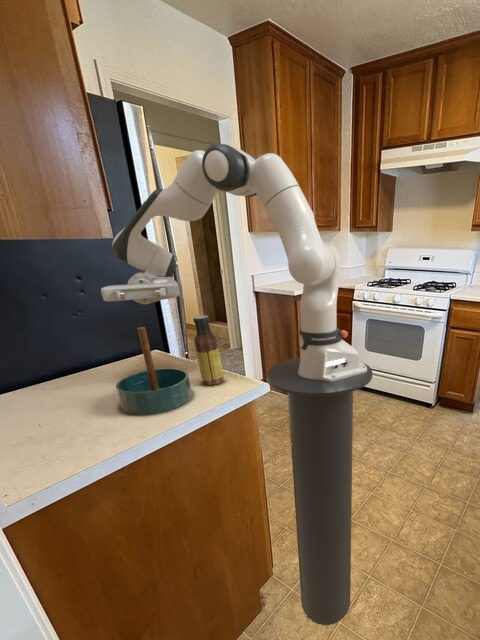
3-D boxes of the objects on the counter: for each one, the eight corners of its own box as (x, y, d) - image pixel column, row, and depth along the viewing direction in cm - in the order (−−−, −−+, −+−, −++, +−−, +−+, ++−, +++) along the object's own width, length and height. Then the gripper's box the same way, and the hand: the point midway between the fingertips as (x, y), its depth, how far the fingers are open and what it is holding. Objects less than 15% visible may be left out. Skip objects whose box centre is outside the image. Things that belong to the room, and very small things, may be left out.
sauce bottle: (224, 377, 109) (215, 313, 102) (224, 384, 104) (214, 317, 96) (202, 379, 108) (191, 315, 100) (200, 387, 102) (189, 319, 95)
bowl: (190, 383, 105) (186, 364, 103) (193, 407, 90) (189, 385, 88) (125, 393, 99) (120, 373, 97) (118, 420, 84) (111, 397, 82)
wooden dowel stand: (167, 392, 98) (153, 324, 90) (167, 400, 93) (152, 328, 86) (147, 396, 96) (130, 326, 88) (145, 403, 91) (128, 331, 84)
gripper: (102, 280, 104) (93, 285, 92) (176, 276, 111) (177, 280, 99) (107, 302, 106) (100, 309, 94) (180, 296, 113) (181, 303, 101)
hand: (140, 294), depth 97 cm, fingers open, 8 cm apart
